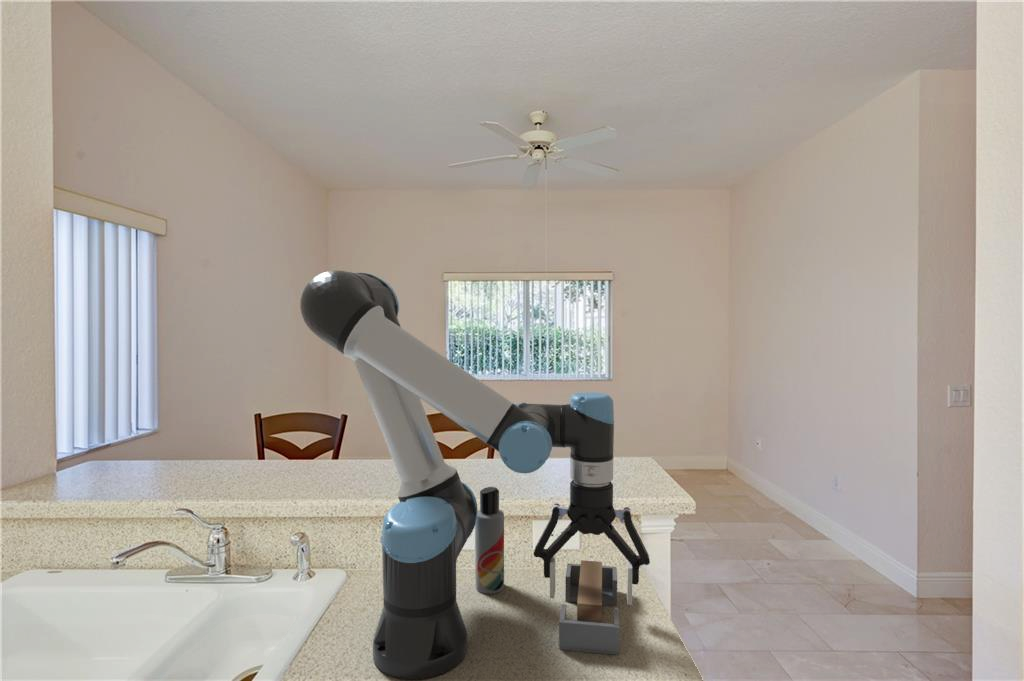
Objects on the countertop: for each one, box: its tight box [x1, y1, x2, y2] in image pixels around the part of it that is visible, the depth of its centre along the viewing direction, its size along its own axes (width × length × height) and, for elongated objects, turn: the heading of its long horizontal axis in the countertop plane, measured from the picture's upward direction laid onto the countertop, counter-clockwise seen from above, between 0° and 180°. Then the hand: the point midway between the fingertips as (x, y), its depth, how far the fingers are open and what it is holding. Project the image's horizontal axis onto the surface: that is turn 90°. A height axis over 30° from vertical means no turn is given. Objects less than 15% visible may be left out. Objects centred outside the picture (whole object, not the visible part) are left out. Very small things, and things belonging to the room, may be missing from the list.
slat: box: [576, 559, 603, 623], centre depth 101 cm, size 4×16×6 cm, turn 171°
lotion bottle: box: [474, 486, 505, 595], centre depth 112 cm, size 6×6×20 cm
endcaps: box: [558, 563, 620, 656], centre depth 102 cm, size 10×21×5 cm, turn 171°
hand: (590, 597), depth 102 cm, fingers open, 13 cm apart
